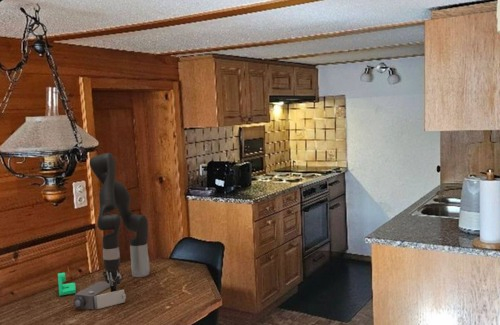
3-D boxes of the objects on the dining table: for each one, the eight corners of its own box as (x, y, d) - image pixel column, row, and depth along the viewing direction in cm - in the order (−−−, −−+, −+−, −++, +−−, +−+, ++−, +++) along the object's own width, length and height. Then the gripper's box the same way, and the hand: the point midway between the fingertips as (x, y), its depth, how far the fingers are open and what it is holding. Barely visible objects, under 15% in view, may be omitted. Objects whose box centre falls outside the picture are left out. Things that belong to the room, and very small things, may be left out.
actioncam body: (100, 293, 244) (99, 279, 244) (118, 295, 241) (117, 281, 240) (71, 310, 225) (70, 294, 225) (90, 312, 222) (88, 296, 221)
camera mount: (76, 295, 245) (74, 274, 244) (59, 297, 242) (57, 277, 241) (75, 287, 256) (73, 267, 255) (59, 289, 253) (57, 270, 252)
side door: (124, 301, 233) (123, 289, 232) (126, 302, 231) (125, 290, 230) (94, 309, 225) (93, 296, 224) (96, 310, 223) (95, 297, 222)
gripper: (96, 256, 232) (98, 292, 234) (113, 261, 224) (115, 298, 225) (109, 252, 238) (112, 287, 239) (126, 257, 229) (129, 293, 231)
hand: (113, 292), depth 232 cm, fingers closed
